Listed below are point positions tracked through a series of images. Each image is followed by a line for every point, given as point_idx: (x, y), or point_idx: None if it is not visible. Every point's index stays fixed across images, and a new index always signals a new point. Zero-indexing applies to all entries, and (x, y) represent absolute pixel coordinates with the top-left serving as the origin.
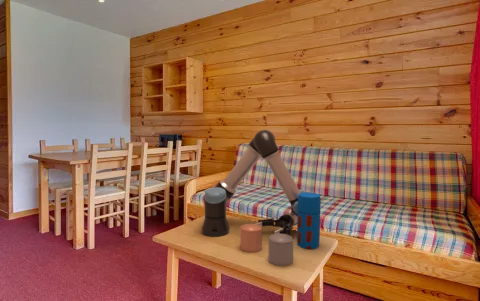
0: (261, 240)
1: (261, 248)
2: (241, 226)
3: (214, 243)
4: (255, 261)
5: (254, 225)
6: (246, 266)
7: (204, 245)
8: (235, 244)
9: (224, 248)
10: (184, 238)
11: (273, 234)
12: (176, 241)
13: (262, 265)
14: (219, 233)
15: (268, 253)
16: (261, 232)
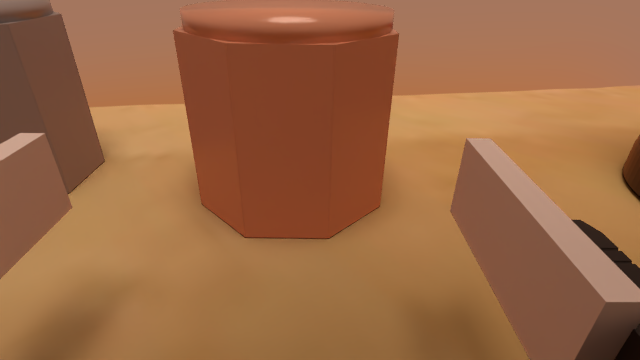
0: (192, 129)
1: (202, 195)
2: (366, 4)
3: (497, 133)
4: (167, 126)
5: (294, 15)
6: None
7: (493, 112)
8: (412, 168)
9: (400, 129)
10: (632, 109)
11: (10, 3)
12: (595, 93)
13: (117, 122)
14: (634, 158)
15: (95, 132)
16: (179, 50)
